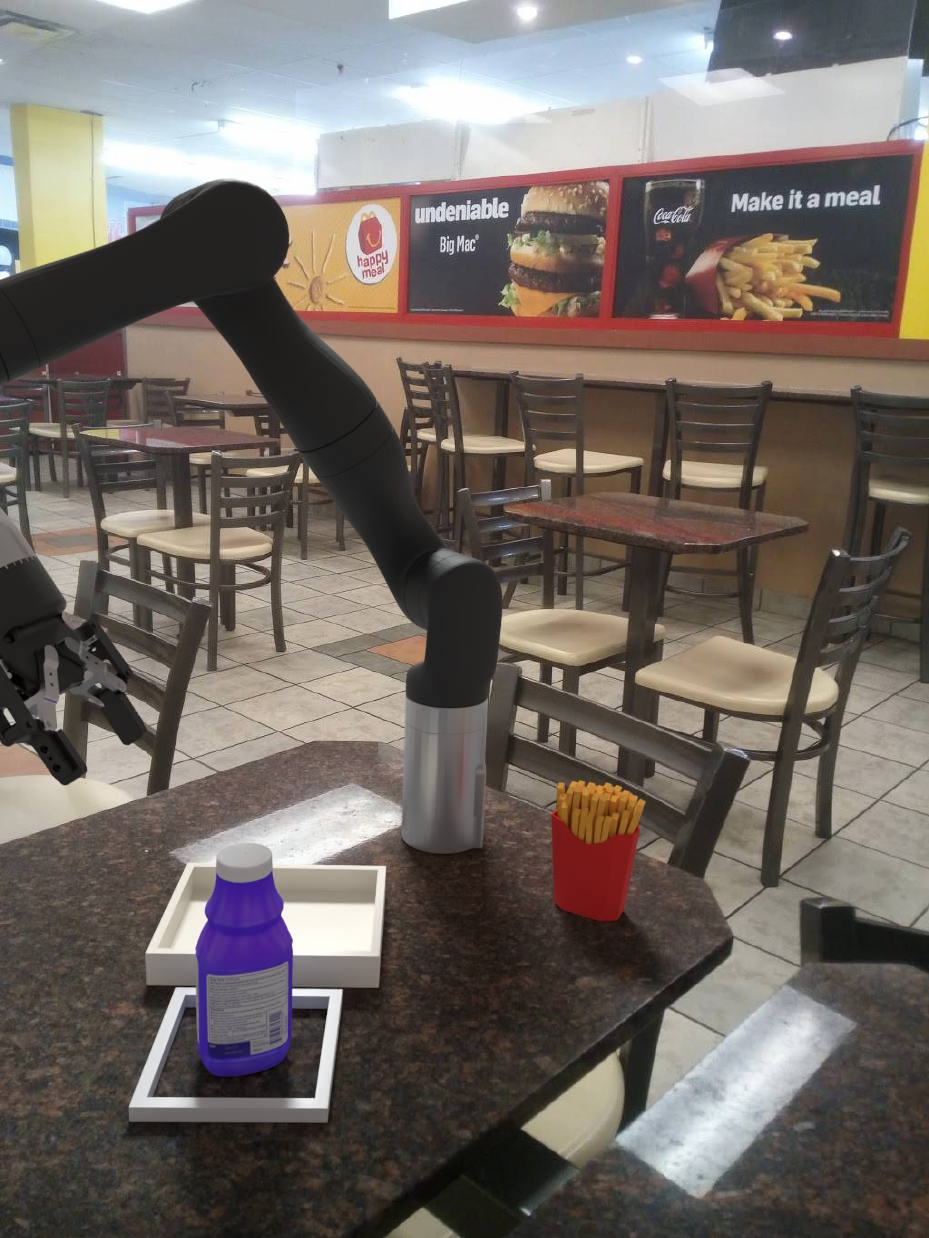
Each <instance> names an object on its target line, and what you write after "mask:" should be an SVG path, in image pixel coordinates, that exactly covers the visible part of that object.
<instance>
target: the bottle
mask: <svg viewBox="0 0 929 1238" xmlns="http://www.w3.org/2000/svg"><path fill="white" fill-rule="evenodd" d="M215 859H216V862H215V863H216V882H215V887H214V891H213V894H212V896H211V897H210V899H209V900H208V902H207V904H206V906H205V915H206V918H207V919H208V920H207V922H206V924H205V926H204V927H203V929H202V931H201V933H200V936H199V939H198V941H197V945H196V948H195V950H196V986H195V988H196V1007H195V1008H196V1009H195V1011H196V1015H195V1016H196V1017H195V1018H196V1019H195V1020H196V1047H197V1052H198V1054H199V1056H200V1059H201V1062H202V1064H203V1066H204V1067H205V1069H206V1070H207V1071H208V1072H209V1073H211V1074H212V1076H217V1077H225V1078H226V1077H240V1076H245V1075H246V1076H247V1075H250V1074H251V1075H252V1074H256V1073H259V1072H262V1071H267V1070H269V1069H271V1068H273V1067H276V1066H278V1065H279V1064H281V1063H283V1061H284V1059H285V1057H286V1055H287V1053H288V1052H289V1048H290V1047H291V1046H290V1045H291V1041H292V1035H293V1034H292V1030H293V1022H292V1021H293V1020H292V1018H293V1008H292V989H293V987H292V973H293V948H292V943H293V939H292V936H291V934H290V932H289V931H288V928H287V926H286V923H285V921H284V919H283V918H282V915H281V913H282V911H283V908H284V901H283V899H282V898H281V896H280V895H279V893H278V892H277V889H276V887H275V883H274V878H273V871H272V869H273V864H274V863H273V852H272V850H271V849H270V848H269V847H268V846H265V845H264V844H262V843H257V842H238V843H233V844H229V845H227V846H224V847H223V848H222V849H220V850H219V851H218V852H217V853H216V858H215Z"/></svg>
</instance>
